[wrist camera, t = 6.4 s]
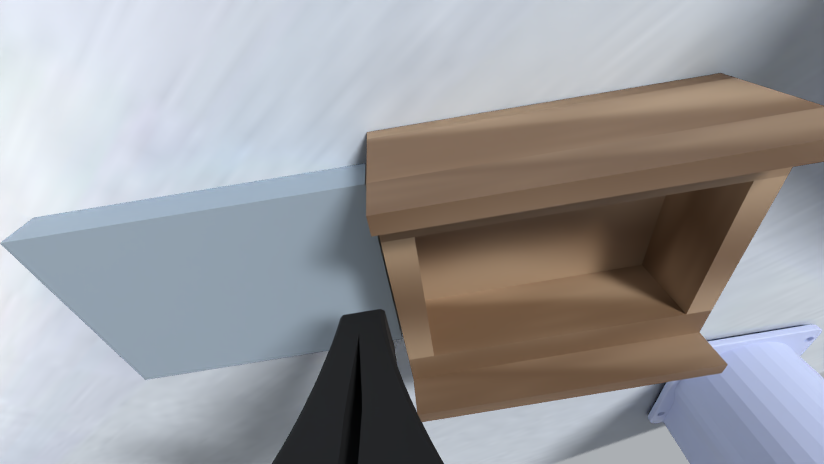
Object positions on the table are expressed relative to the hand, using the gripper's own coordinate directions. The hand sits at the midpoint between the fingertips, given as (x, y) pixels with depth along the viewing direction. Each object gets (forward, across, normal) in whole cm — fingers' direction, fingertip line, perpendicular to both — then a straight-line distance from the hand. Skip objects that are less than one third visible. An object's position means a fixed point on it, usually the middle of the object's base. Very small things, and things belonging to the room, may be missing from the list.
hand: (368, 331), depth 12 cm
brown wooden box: (+4, -7, 0) cm, 8 cm away
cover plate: (+5, +5, 0) cm, 7 cm away
